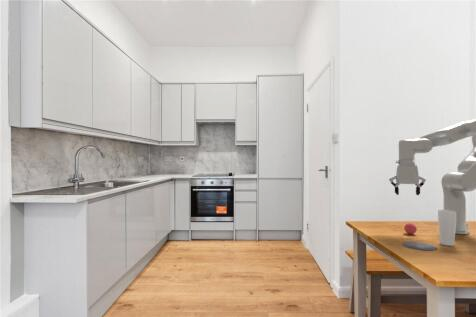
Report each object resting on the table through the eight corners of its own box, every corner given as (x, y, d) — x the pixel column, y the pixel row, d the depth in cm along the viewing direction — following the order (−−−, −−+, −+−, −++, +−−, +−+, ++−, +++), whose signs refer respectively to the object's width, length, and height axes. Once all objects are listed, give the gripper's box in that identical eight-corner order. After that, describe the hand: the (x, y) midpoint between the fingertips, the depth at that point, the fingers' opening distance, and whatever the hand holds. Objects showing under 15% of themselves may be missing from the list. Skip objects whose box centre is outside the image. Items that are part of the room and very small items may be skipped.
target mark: (413, 241, 138) (413, 240, 138) (443, 248, 126) (443, 247, 126) (395, 244, 132) (395, 243, 132) (425, 252, 120) (425, 251, 120)
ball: (408, 232, 156) (408, 221, 156) (419, 234, 151) (418, 223, 151) (401, 233, 153) (401, 222, 154) (412, 235, 149) (412, 224, 149)
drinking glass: (459, 247, 128) (459, 212, 129) (442, 246, 130) (442, 211, 130) (451, 243, 135) (451, 210, 135) (435, 242, 136) (435, 209, 137)
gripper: (390, 162, 158) (390, 195, 157) (427, 162, 153) (428, 195, 152) (387, 162, 165) (388, 193, 165) (423, 162, 160) (423, 194, 160)
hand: (407, 194), depth 158 cm, fingers open, 9 cm apart
